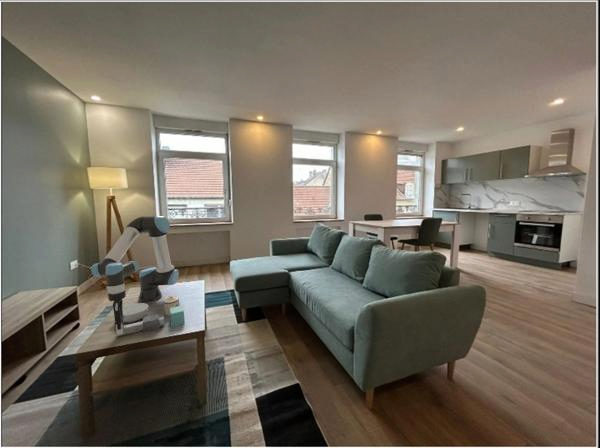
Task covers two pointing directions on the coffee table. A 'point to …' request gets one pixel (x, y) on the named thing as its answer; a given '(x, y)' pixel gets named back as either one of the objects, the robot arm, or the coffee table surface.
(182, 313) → the socket
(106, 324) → the coffee table surface
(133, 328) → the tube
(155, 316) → the sleeve
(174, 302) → the teacup with lid
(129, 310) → the cereal bowl
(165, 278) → the robot arm
